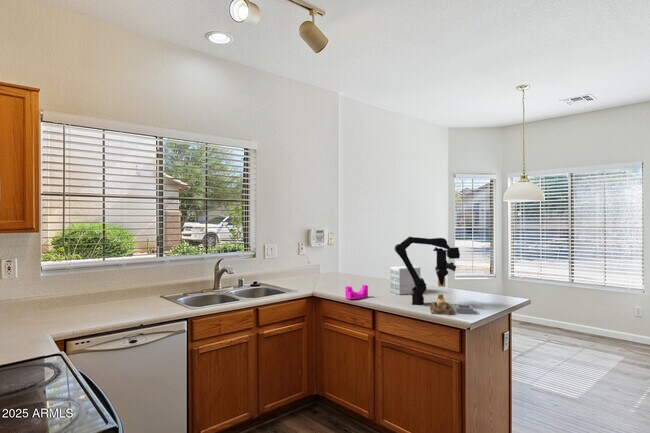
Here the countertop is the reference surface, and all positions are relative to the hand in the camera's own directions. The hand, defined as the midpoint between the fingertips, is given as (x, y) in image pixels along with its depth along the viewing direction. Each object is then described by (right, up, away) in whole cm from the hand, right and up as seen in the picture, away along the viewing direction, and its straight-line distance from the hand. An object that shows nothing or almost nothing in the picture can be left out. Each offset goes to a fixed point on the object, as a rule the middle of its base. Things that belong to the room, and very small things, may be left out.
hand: (441, 284), depth 236 cm
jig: (-5, -12, -16) cm, 20 cm away
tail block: (0, -1, 0) cm, 1 cm away
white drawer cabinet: (-14, -13, +39) cm, 43 cm away
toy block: (-49, -13, +22) cm, 55 cm away
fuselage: (-5, -11, -16) cm, 20 cm away
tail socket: (+6, -12, -20) cm, 24 cm away
